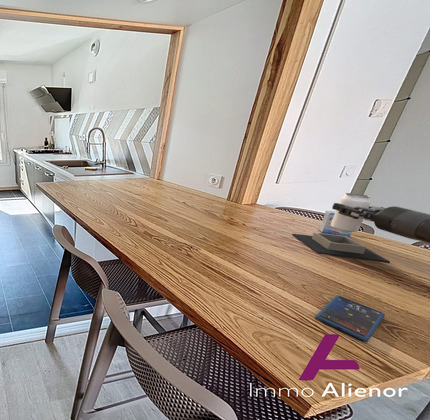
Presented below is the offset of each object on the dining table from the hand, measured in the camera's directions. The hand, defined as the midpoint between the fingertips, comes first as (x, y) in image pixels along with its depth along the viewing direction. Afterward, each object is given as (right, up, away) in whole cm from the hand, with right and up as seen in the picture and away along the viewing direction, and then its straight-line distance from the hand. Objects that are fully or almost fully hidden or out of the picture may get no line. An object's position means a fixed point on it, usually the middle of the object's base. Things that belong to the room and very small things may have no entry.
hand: (344, 206), depth 84 cm
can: (0, -8, 0) cm, 8 cm away
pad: (0, -15, +3) cm, 15 cm away
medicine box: (+13, -11, +15) cm, 22 cm away
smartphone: (-35, -26, -30) cm, 53 cm away
